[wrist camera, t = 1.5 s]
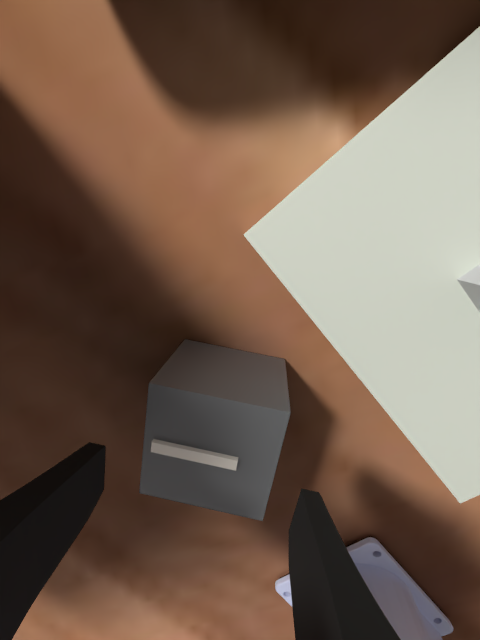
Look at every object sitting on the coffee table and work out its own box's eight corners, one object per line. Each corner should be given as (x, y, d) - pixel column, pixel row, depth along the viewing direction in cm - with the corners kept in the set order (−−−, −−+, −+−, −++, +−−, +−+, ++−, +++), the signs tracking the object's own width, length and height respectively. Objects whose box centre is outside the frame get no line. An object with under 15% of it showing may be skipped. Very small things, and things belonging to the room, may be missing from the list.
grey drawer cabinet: (284, 359, 16) (290, 415, 11) (265, 443, 18) (262, 525, 13) (184, 339, 16) (146, 385, 11) (174, 423, 18) (137, 496, 13)
